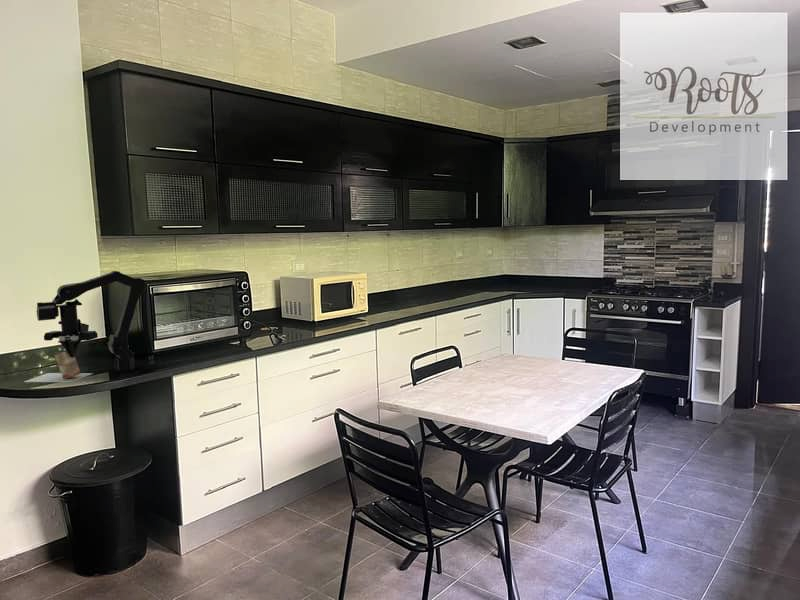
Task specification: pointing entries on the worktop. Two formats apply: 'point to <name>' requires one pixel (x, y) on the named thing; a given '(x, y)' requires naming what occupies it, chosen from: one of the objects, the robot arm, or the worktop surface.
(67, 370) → the maple block
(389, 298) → the worktop surface
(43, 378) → the board
